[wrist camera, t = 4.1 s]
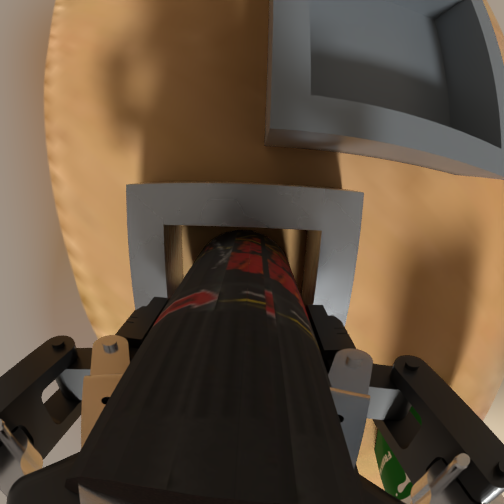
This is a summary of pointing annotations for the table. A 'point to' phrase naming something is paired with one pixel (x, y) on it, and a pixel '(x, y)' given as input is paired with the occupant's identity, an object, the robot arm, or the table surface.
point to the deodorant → (224, 396)
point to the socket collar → (244, 215)
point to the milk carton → (399, 470)
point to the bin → (388, 82)
